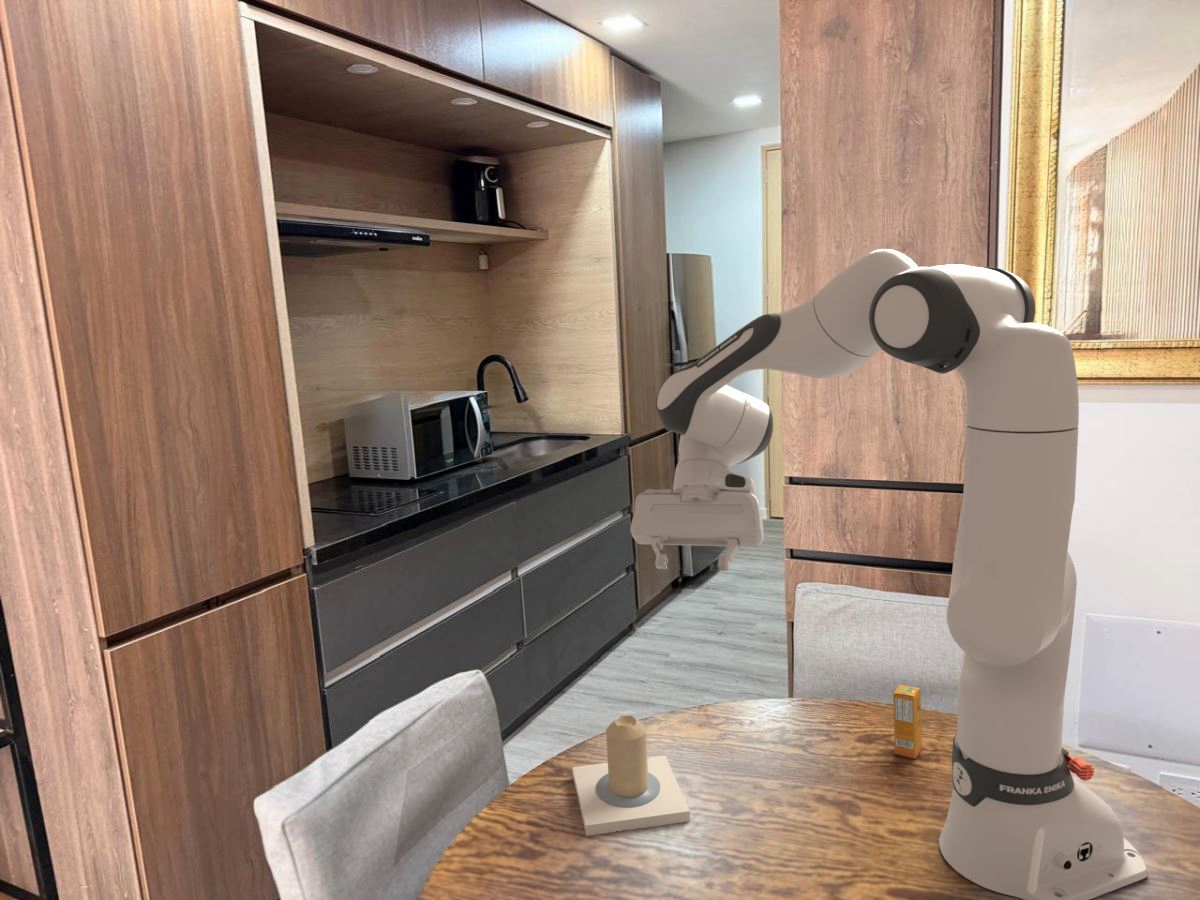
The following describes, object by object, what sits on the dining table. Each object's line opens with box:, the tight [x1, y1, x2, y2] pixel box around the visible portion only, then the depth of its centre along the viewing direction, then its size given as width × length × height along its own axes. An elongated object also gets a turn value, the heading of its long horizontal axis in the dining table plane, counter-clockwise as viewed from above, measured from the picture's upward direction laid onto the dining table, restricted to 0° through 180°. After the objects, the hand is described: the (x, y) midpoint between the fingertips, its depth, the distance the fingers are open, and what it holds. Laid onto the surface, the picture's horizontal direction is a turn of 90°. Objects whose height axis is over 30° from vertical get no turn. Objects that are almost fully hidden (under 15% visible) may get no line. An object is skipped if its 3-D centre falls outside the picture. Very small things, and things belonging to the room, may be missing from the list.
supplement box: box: [892, 684, 923, 760], centre depth 121 cm, size 3×3×10 cm
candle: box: [605, 715, 648, 798], centre depth 112 cm, size 6×6×10 cm
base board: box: [572, 754, 691, 837], centre depth 113 cm, size 14×14×2 cm
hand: (691, 568), depth 121 cm, fingers open, 8 cm apart
